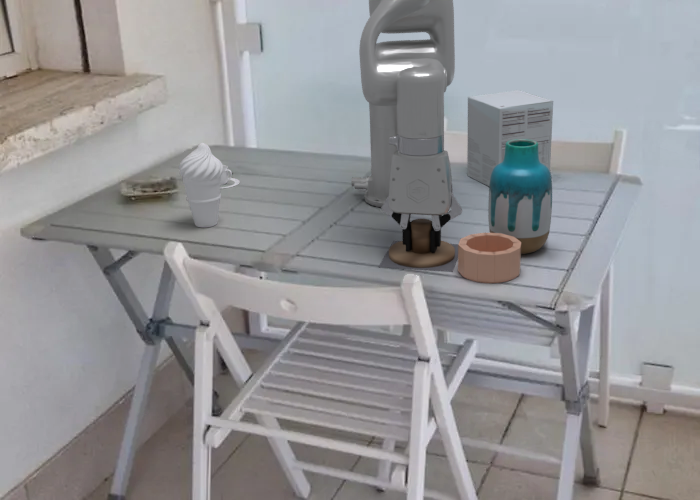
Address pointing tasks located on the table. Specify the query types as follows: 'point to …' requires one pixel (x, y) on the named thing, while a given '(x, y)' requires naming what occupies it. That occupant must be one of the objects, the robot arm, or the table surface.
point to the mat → (447, 268)
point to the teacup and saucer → (225, 178)
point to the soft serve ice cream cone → (202, 185)
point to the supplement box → (505, 128)
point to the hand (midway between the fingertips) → (421, 248)
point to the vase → (521, 196)
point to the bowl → (489, 257)
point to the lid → (421, 248)
